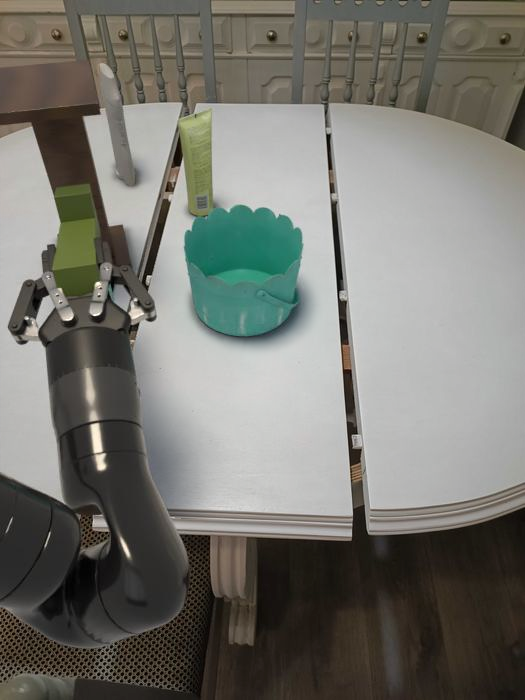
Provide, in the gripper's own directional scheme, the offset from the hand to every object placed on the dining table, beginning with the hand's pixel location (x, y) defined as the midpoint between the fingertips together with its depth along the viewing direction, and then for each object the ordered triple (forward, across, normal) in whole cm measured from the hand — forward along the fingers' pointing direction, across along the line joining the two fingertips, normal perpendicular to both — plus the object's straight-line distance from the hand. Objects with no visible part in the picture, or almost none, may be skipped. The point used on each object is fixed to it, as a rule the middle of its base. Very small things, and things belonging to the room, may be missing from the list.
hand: (75, 246), depth 55 cm
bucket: (+10, -22, +30) cm, 39 cm away
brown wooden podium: (+25, +1, +33) cm, 41 cm away
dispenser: (+54, -7, +39) cm, 67 cm away
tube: (+37, -21, +36) cm, 56 cm away
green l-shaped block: (+2, 0, +4) cm, 5 cm away
